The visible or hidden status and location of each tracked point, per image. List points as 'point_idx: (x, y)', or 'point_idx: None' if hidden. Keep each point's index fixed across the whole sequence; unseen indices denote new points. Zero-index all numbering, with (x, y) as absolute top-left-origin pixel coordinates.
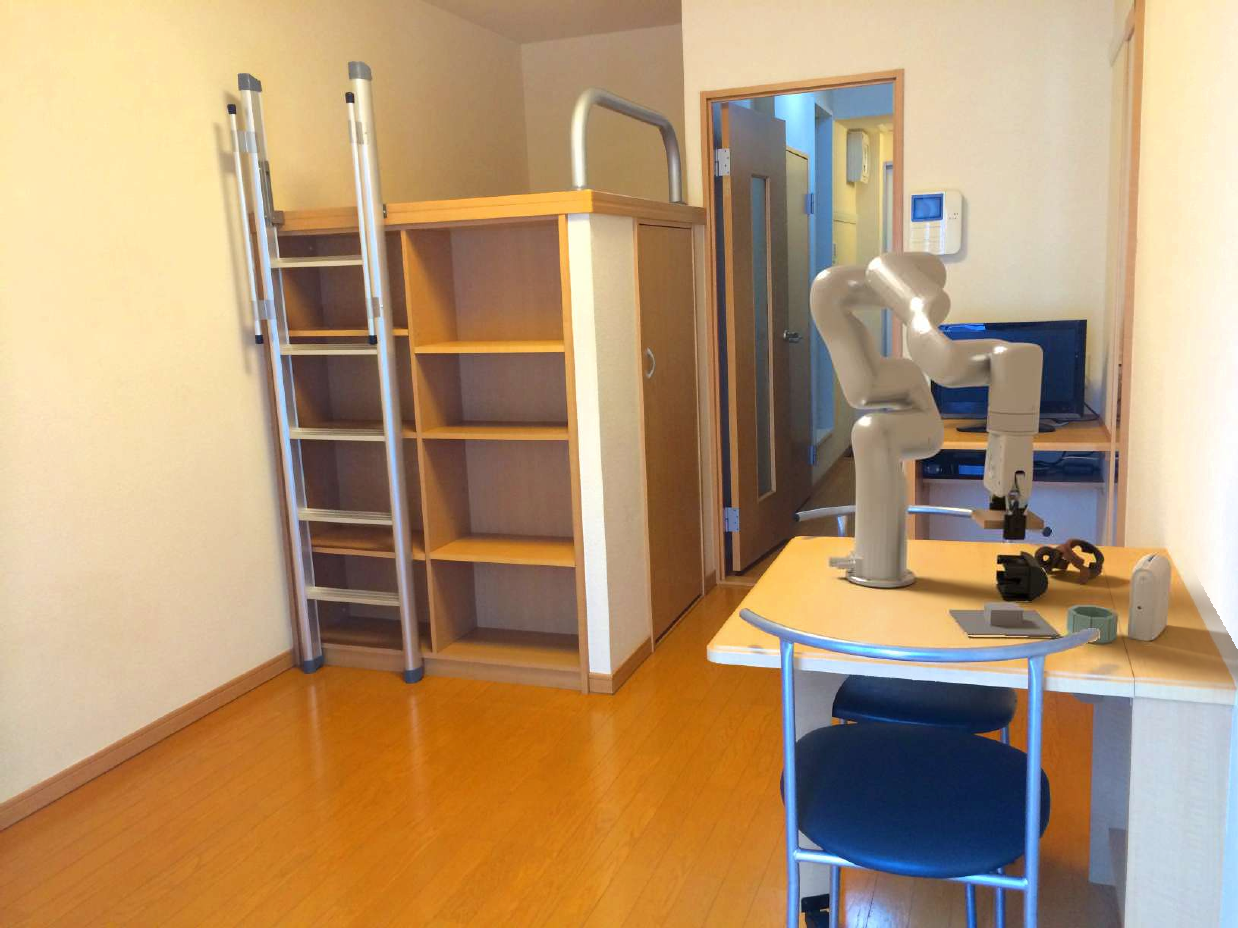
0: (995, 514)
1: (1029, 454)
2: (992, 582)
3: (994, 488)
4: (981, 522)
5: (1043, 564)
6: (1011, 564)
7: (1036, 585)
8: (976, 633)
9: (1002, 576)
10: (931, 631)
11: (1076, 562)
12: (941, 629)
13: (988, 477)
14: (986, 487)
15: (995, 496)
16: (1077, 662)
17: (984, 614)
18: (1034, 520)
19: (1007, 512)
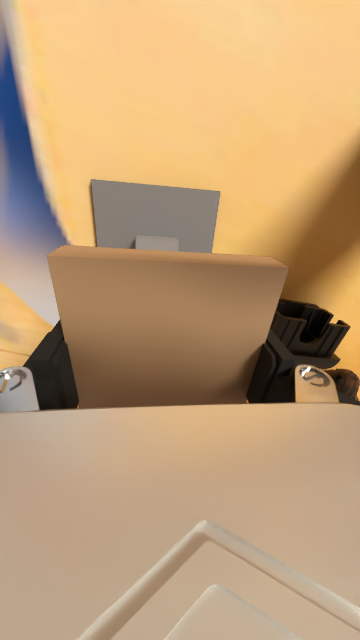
0: (182, 338)
1: None
2: (333, 305)
3: (51, 458)
4: (107, 252)
5: (337, 373)
6: (294, 331)
7: None
8: (94, 196)
9: (321, 318)
10: (120, 112)
11: None
12: (133, 141)
13: (313, 529)
14: (301, 406)
15: (291, 399)
16: (12, 304)
17: (171, 238)
18: None
19: (25, 376)
